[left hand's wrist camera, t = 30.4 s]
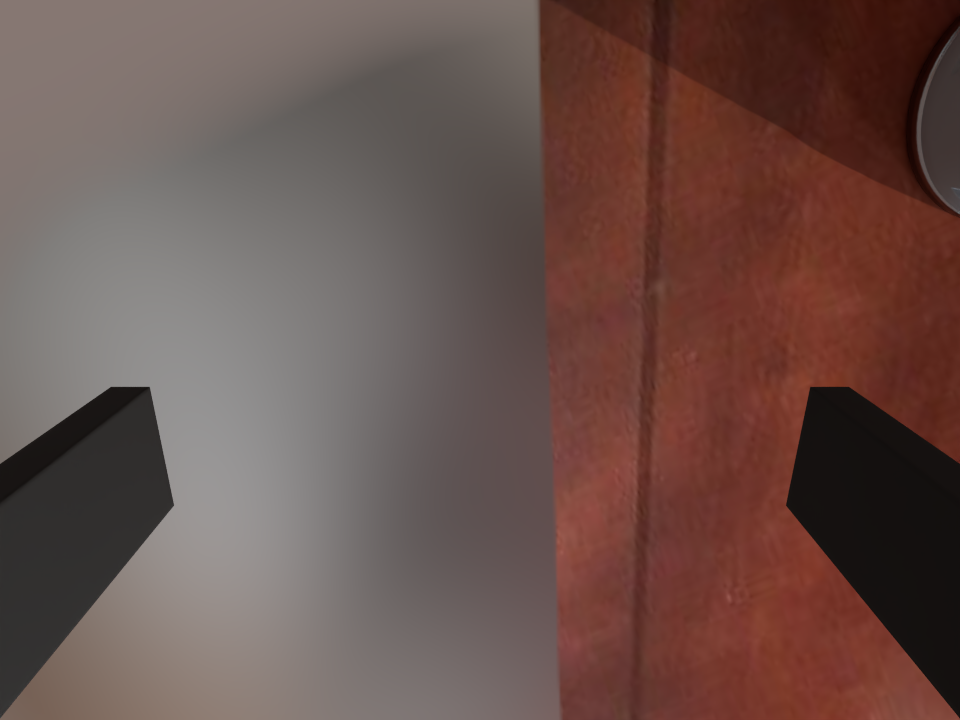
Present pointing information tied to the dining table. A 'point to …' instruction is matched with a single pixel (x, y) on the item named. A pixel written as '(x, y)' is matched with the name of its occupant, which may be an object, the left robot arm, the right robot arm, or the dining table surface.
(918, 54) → the dining table surface
